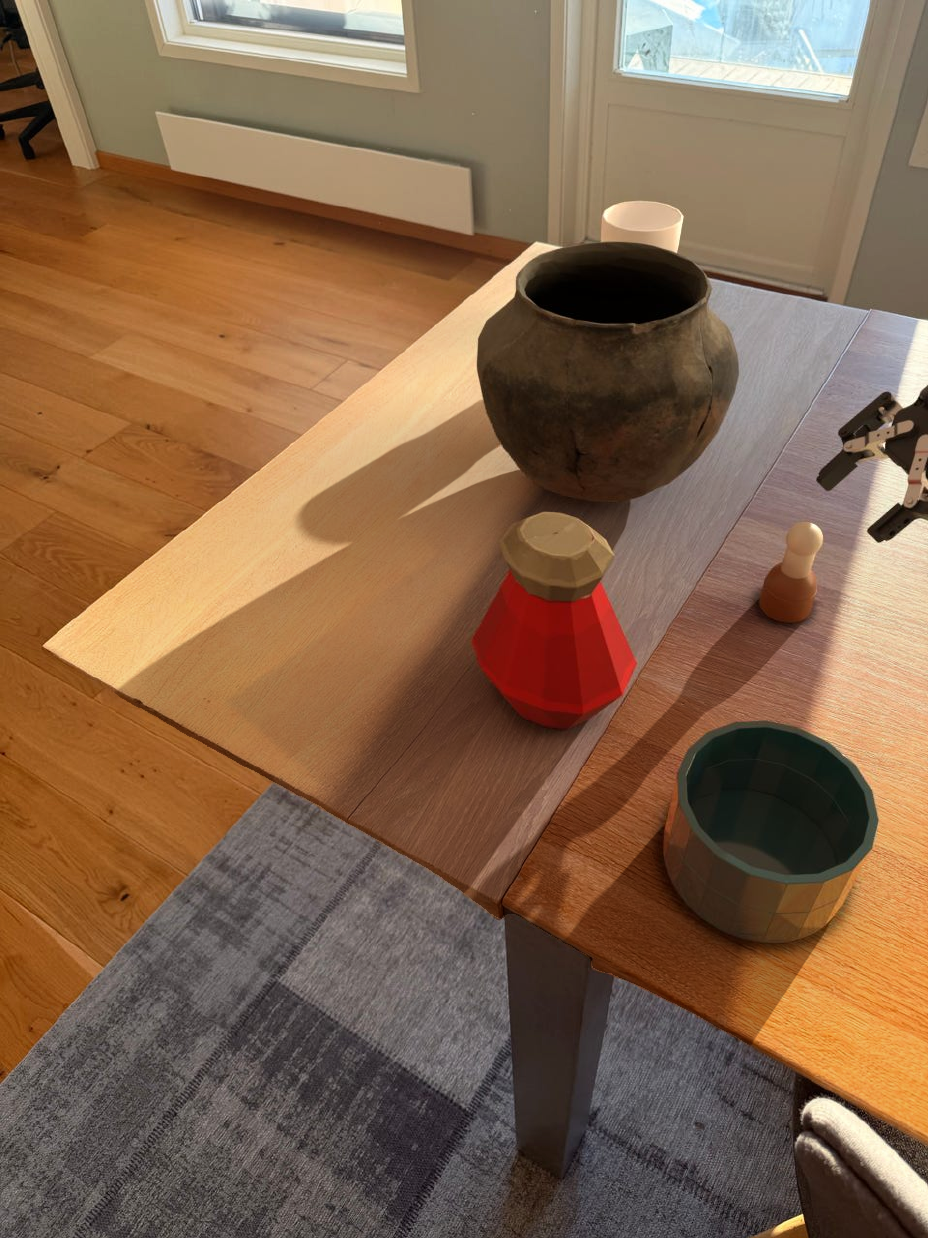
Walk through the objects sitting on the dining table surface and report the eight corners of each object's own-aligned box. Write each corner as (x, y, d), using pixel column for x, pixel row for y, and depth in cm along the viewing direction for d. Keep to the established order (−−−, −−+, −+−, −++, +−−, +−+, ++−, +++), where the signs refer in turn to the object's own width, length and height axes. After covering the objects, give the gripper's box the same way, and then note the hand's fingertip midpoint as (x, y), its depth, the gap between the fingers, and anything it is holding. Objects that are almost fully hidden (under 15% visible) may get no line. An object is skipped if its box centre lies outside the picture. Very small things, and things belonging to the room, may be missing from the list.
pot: (513, 577, 99) (516, 372, 82) (459, 425, 122) (452, 238, 104) (763, 538, 103) (816, 333, 85) (666, 397, 125) (692, 212, 108)
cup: (633, 357, 133) (646, 238, 121) (578, 331, 140) (585, 215, 127) (683, 331, 138) (700, 214, 126) (627, 307, 145) (638, 194, 133)
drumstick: (815, 598, 96) (841, 517, 88) (803, 629, 92) (830, 548, 85) (765, 583, 98) (787, 503, 90) (753, 613, 94) (774, 533, 87)
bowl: (861, 824, 76) (893, 759, 70) (823, 977, 67) (856, 918, 61) (694, 762, 81) (710, 696, 75) (637, 896, 72) (650, 834, 66)
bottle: (659, 695, 87) (688, 532, 73) (571, 782, 80) (585, 621, 66) (533, 619, 95) (538, 459, 81) (443, 692, 88) (431, 531, 74)
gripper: (924, 326, 84) (788, 453, 90) (1035, 403, 75) (874, 539, 81) (953, 368, 89) (821, 486, 95) (1061, 445, 79) (907, 571, 85)
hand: (846, 510), depth 88 cm, fingers open, 8 cm apart
